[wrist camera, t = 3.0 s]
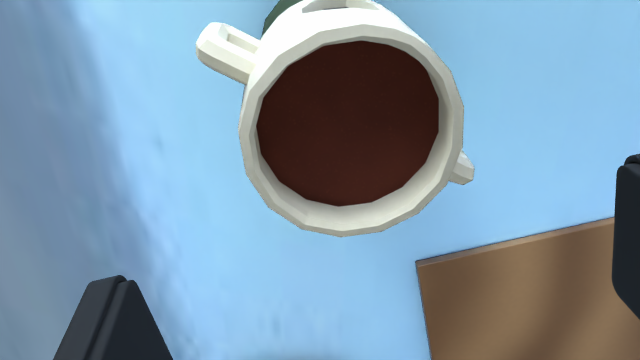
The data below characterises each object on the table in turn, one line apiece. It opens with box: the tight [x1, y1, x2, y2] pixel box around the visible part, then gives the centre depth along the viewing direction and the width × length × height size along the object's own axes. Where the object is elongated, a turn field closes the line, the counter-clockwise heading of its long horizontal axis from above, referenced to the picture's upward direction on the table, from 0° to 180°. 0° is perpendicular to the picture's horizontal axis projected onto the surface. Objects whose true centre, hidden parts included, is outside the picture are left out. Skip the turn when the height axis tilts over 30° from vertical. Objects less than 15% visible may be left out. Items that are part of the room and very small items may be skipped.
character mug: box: [196, 0, 474, 237], centre depth 22 cm, size 11×7×13 cm, turn 63°
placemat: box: [415, 217, 640, 360], centre depth 39 cm, size 16×22×1 cm
